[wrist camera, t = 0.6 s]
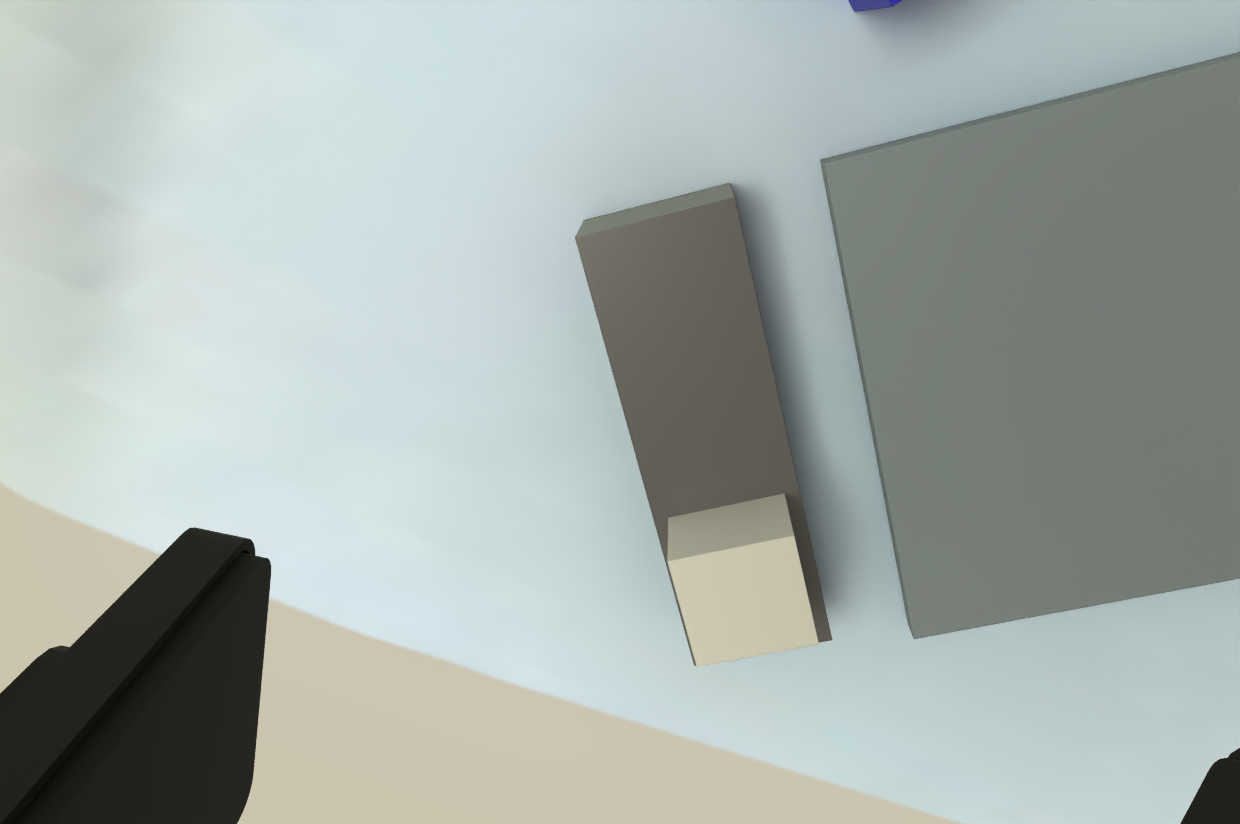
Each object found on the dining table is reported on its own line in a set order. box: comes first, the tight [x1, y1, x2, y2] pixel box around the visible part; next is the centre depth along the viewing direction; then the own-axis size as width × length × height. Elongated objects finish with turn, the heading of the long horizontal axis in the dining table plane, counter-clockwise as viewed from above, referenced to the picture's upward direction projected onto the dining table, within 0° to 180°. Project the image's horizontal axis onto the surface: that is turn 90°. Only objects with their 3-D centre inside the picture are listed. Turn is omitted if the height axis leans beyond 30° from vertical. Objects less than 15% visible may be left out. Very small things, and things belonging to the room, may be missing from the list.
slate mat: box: [820, 52, 1240, 639], centre depth 34 cm, size 15×18×1 cm
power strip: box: [575, 183, 832, 667], centre depth 33 cm, size 5×16×6 cm, turn 15°
